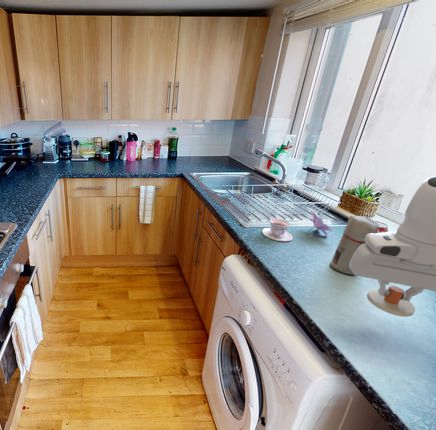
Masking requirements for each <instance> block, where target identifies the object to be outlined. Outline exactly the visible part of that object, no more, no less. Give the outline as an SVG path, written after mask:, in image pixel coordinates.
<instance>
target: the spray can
mask: <svg viewBox="0 0 436 430" xmlns="http://www.w3.org/2000/svg"><path fill="white" fill-rule="evenodd" d="M375 221H376V220H373V219H371V218H369V217H368V216H363V215H356V214H355V215H349V217H348V220H347V223H346V226H345V228H344V230H343V232H342V235H341V238H340V240H339V242H338V245H337V246H336V250H335V252H334V255H333V257H332V259H331V261H330V263H329V265H330V266H331V268H332V269H334V270H335V271H337V272H340V273H343V274H347V275H351V276H355V275H354V274H353V272H352V271H351V269H350V267H349V263H350V260H351V258H352V256H353V254H354V253H355V251H356V250H357V248H358V247H359V246H360V245H362V244H365V243H366V242H365V236H366V235H367V234H371V233H375V232H376V230H377V229H378V225H377V224H376V222H375Z"/></svg>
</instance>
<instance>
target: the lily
mask: <svg viewBox="0 0 436 430" xmlns="http://www.w3.org/2000/svg"><path fill="white" fill-rule="evenodd" d="M310 212H311V215H312V217H308V218H307V219H308V220H309V221H311V222H312V223H313V227H311V228H310V229H309V230H308V232H307V233H306V235H308V234H310V233H311V231H312V230H313V229H316V230H317V231H321V232H322V233H323V234H324V235H325V236H326V237H328V233H327V232H332V233H333V232H334V230H333V229H332V228H331V227H330V226H329V225H328V224H325V223H324V221H323V219H322V217H321V218H319V216H318V215H317V214H316V213H315V212H314V211H313V210H310Z"/></svg>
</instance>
